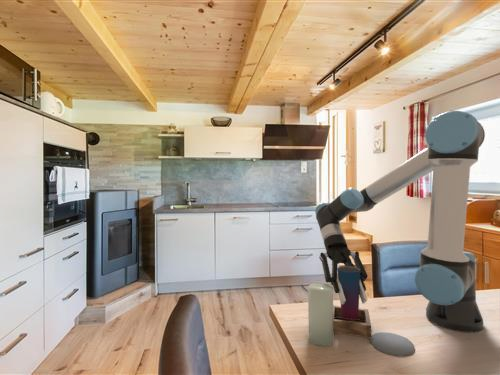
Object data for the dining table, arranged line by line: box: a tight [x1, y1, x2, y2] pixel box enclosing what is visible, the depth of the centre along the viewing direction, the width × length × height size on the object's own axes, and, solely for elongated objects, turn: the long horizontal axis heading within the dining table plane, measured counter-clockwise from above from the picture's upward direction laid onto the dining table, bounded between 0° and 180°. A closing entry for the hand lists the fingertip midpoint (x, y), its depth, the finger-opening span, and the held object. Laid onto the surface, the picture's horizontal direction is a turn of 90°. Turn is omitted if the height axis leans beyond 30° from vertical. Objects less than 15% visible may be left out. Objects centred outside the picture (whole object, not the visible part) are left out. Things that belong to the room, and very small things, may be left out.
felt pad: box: [369, 331, 415, 357], centre depth 79 cm, size 11×11×1 cm
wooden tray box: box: [333, 304, 372, 339], centre depth 90 cm, size 12×12×4 cm
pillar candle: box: [307, 282, 334, 347], centre depth 83 cm, size 7×7×15 cm
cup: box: [337, 265, 360, 321], centre depth 90 cm, size 7×7×15 cm
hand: (354, 301), depth 87 cm, fingers closed on cup, 6 cm apart
